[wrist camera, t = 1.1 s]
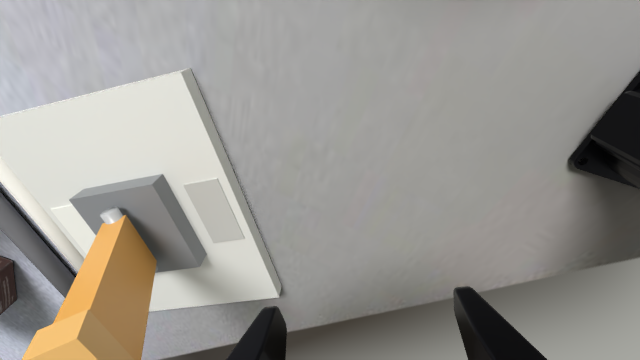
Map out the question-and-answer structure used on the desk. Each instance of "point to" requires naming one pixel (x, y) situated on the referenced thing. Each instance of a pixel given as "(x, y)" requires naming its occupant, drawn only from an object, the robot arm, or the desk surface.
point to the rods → (27, 239)
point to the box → (6, 284)
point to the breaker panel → (146, 185)
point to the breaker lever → (103, 300)
